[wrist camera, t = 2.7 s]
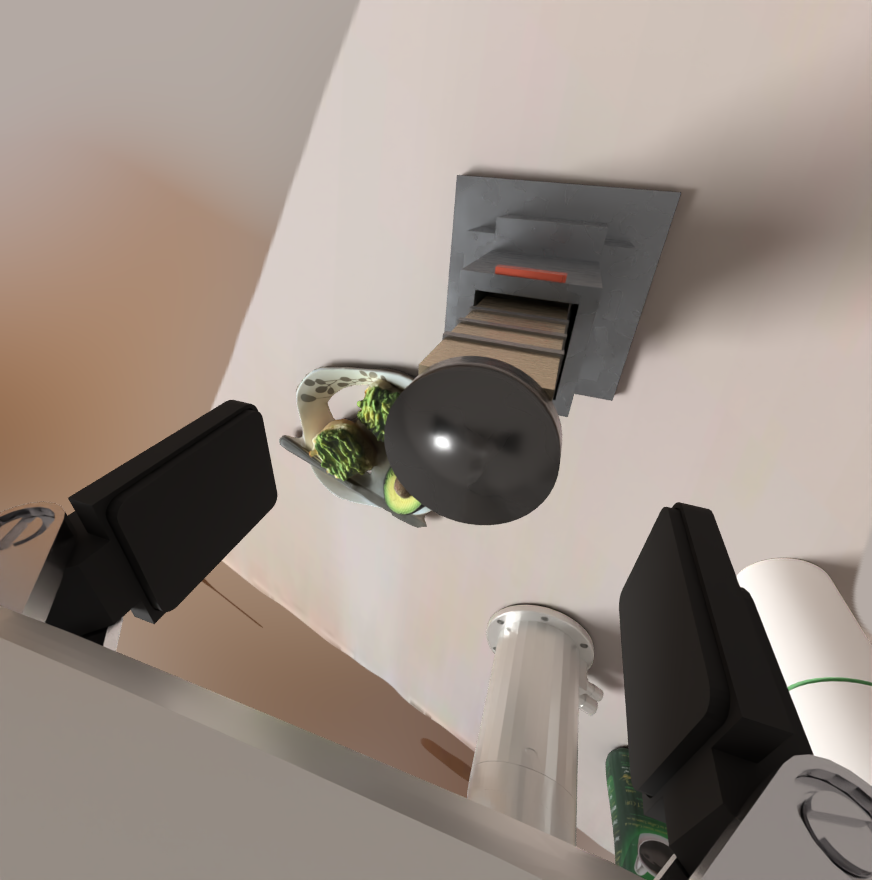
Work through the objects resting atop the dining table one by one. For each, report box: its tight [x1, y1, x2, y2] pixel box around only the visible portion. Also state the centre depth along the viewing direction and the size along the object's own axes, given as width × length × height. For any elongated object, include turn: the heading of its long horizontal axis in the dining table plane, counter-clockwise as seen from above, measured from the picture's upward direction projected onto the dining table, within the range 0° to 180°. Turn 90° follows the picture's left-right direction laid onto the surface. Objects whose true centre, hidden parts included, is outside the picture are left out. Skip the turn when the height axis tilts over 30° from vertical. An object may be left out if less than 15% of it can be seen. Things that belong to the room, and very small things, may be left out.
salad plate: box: [279, 367, 432, 528], centre depth 42 cm, size 19×18×5 cm
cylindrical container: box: [737, 558, 872, 786], centre depth 27 cm, size 7×7×25 cm
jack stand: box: [444, 175, 681, 417], centre depth 26 cm, size 14×14×13 cm
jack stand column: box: [384, 292, 571, 525], centre depth 21 cm, size 5×5×22 cm
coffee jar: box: [606, 748, 674, 880], centre depth 49 cm, size 10×8×19 cm
